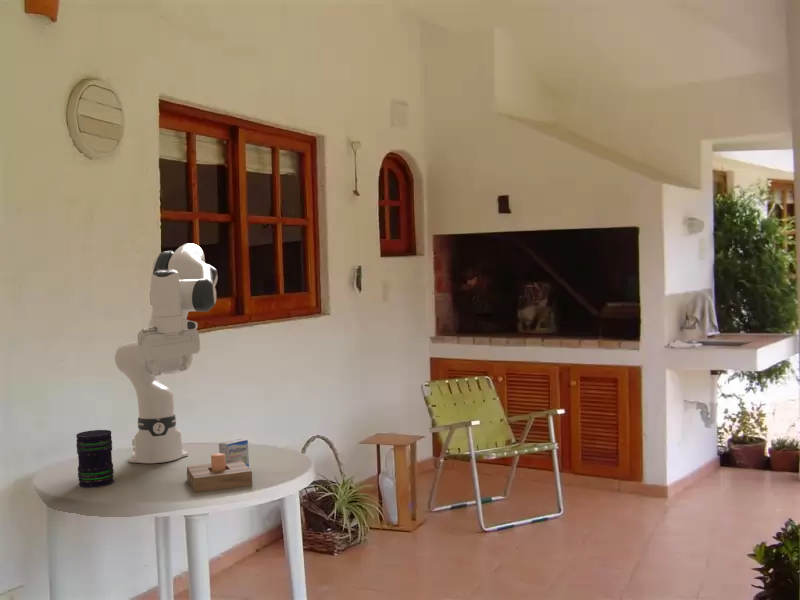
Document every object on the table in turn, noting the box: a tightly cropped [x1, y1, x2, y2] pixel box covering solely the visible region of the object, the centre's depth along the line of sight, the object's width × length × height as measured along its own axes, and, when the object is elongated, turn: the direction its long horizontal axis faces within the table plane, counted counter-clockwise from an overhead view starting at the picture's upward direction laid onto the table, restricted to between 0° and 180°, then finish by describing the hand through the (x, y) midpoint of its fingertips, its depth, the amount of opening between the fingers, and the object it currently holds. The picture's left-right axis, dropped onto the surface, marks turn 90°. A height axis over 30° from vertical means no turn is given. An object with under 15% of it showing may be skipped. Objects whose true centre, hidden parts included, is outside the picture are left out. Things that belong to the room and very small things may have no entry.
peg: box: [210, 453, 226, 472], centre depth 243 cm, size 4×4×8 cm
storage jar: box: [75, 429, 115, 489], centre depth 247 cm, size 10×10×15 cm
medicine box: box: [218, 438, 250, 468], centre depth 259 cm, size 8×4×9 cm, turn 137°
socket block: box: [186, 460, 253, 493], centre depth 243 cm, size 16×16×4 cm
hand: (170, 372), depth 245 cm, fingers open, 8 cm apart
